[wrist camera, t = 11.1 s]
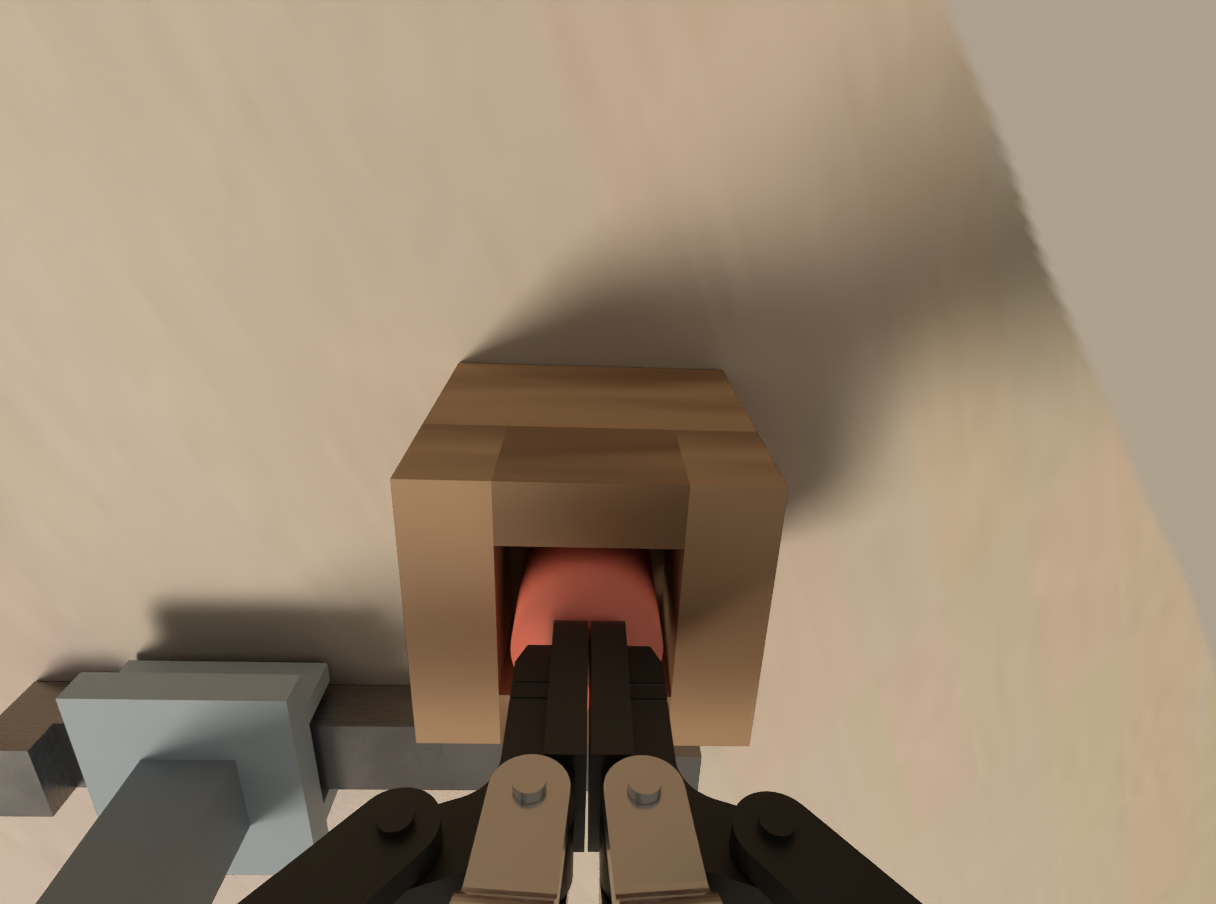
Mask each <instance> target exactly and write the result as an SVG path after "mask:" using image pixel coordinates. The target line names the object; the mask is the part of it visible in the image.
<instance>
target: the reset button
mask: <svg viewBox="0 0 1216 904" xmlns="http://www.w3.org/2000/svg"><path fill="white" fill-rule="evenodd" d="M554 620H582V621H588V696H587V709H589V669H590V635H591V620H592V621H625V624H626V637H627V646H650V647H651V648H652V649H653V651H654V652H655V654H656V655H657V656H658V658H659V659H660V661H662V655H663V640H662V633H661V625H660V618H659V611H658V604H657V597H656V590H655V583H654V576H653V569H652V562H651V557H650V554H649V551H648V549H632V548H579V547H529V548H528V550H527V552H526V555H525V559H524V563H523V570H522V576H521V582H520V588H519V595H518V601H517V607H516V613H515V620H514V626H513V632H512V638H511V658H512V662H513V665H515V661H516V660H517V658H518V657H519V656H520V654H521V653H522V652H523V650H524V649H525V648H526V646H527V645H552V637H553V624H554Z"/></svg>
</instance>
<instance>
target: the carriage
mask: <svg viewBox="0 0 1216 904" xmlns="http://www.w3.org/2000/svg"><path fill="white" fill-rule="evenodd" d="M329 682H330V676H329V670H328V664H327V663H291V662H215V661H138V660H129V661H128V662H127V663H126V664H125V666H124V667H123V668H122V669H121V670H120V671H119V672H80V673H79V675H78V676H77V677H76V678H75V679H74V680H73V681H72V682H71V683H70V684H69V685H68V686H67V687H66V688H65V689H64V690H63V691H62V692H61V693H60V694H59V695H58V696H57V698H56V702H57V705H58V707H59V710H60V713H61V716H62V719H63V721H64V724H65V727H66V730H67V733H68V735H69V738H70V741H71V744H72V746H73V749H74V752H75V755H76V758H77V760H78V763H79V766H80V769H81V772H82V774H83V777H84V780H85V783H86V786H87V788H88V791H89V794H90V797H91V799H92V802H93V805H94V808H95V811H96V813H97V816H98V819H97V820H96V821H95V823H94V824H93V826H92V827H91V828H90V830H89V831H88V832H87V834H86V835H85V837H84V838H83V839H82V841H81V842H80V843H79V845H78V846H77V848H76V849H75V850H74V852H73V853H72V854H71V856H70V857H69V859H68V860H67V861H66V863H65V864H64V865H63V867H62V868H61V870H60V871H59V872H58V874H57V875H56V876H55V878H54V879H53V881H52V882H51V883H50V885H49V886H48V888H47V889H46V890H45V892H44V893H43V894H42V896H41V897H40V899H39V900H38V901H37V903H36V904H212V902H213V900H214V898H215V896H216V894H217V892H218V890H219V888H220V886H221V884H222V882H223V880H224V878H225V876H226V875H275V874H276V873H277V872H279V871H280V870H281V869H282V868H284V867H285V866H286V865H287V864H289V863H290V862H291V861H293V860H294V859H295V858H296V857H298V856H299V855H300V854H301V853H303V852H304V851H305V850H307V849H308V848H309V847H310V846H312V845H313V844H314V843H315V842H317V841H318V840H319V839H321V838H322V837H323V836H324V835H326V834H327V833H328V827H327V821H326V819H327V817H328V814H329V812H330V809H331V806H332V804H333V801H334V799H335V796H336V794H337V791H338V789H321V787H320V782H319V776H318V770H317V765H316V759H315V753H314V748H313V742H312V736H311V731H310V725H309V723H310V721H311V719H312V717H313V715H314V713H315V711H316V709H317V707H318V705H319V702H320V700H321V698H322V696H323V694H324V692H325V690H326V688H327V686H328V684H329Z"/></svg>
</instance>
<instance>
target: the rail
mask: <svg viewBox="0 0 1216 904" xmlns="http://www.w3.org/2000/svg"><path fill="white" fill-rule="evenodd" d="M70 683H71V682H34V683H33V684H32V685H31V686H30V687H29V688H28V689H27V690H26V691H25V692H24V693H22V694H21V695H20V696H19V697H18V698H17V699H16V700H15V701H14V702H13V703H12V704H11V705H10V706H9V707H8V708H7V709H6V710H5V711H4V712H3V713H2V714H1V715H0V816H43V817H53V816H54V815H55V814H56V812H57V811H58V810H59V809H60V807H61V806H62V805H63V804H64V802H65V801H66V800H67V799H68V797H69V796H70V795H71V794H72V792H73V791H74V790H75V789H76V787H87V786H86V783H85V780H84V777H83V774H82V772H81V769H80V766H79V763H78V760H77V758H76V755H75V752H74V749H73V746H72V744H71V741H70V738H69V735H68V733H67V730H66V727H65V724H64V721H63V719H62V716H61V713H60V710H59V707H58V705H57V702H56V698H57V696H58V695H59V694H60V693H61V692H62V691H63V690H64V689H65V688H66V687H67V686H68V685H69V684H70ZM309 725H310V731H311V736H312V742H313V748H314V753H315V759H316V765H317V770H318V776H319V782H320V787H321V789H381V790H391V789H395V788H402V787H410V788H417V789H420V790H478V789H480V788H481V787H483V786H484V785H485V784H486V783H487V782H488V781H489V780H490V778H491V776H492V775H493V773H494V772H495V771H496V769H497V768H498V766H499V764H500V760H501V754H502V747H503V744H463V743H416V736H415V726H414V716H413V705H412V695H411V686H364V685H328V686H327V688H326V690H325V692H324V694H323V696H322V698H321V700H320V702H319V705H318V707H317V709H316V711H315V713H314V715H313V717H312V719H311V721H310V723H309ZM674 752H675V759H676V764H677V767H678V769H679V772H680V773H681V775H682V777H683V778H684V779H685V780H686V782H687V783H688V784H689V785H690V786H692V787H693V788H694V789H695V790H697V791H698V782H699V774H700V765H701V752H700V746H674ZM586 791H588V745H587V773H586Z"/></svg>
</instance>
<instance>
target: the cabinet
mask: <svg viewBox="0 0 1216 904" xmlns="http://www.w3.org/2000/svg"><path fill="white" fill-rule="evenodd" d="M390 483H391V493H392V503H393V513H394V523H395V533H396V543H397V553H398V564H399V574H400V584H401V594H402V604H403V614H404V624H405V635H406V645H407V655H408V665H409V675H410V685H411V695H412V705H413V716H414V726H415V736H416V743H463V744H503V740H504V733H505V727H506V720H507V713H508V706H509V701H510V692H511V686H512V679H513V672H514V665H513V662H512V658H511V638H512V632H513V626H514V620H515V613H516V607H517V601H518V595H519V588H520V582H521V576H522V570H523V563H524V559H525V555H526V552H527V550H528V548H529V547H579V548H632V549H648V551H649V554H650V557H651V562H652V569H653V576H654V583H655V590H656V597H657V604H658V611H659V618H660V625H661V633H662V640H663V655H662V661H661V662H662V663H663V670H664V678H665V687H666V693H667V703H668V707H669V715H670V722H671V730H672V737H673V744H674V746H749V744H750V738H751V731H752V725H753V718H754V712H755V705H756V698H757V692H758V685H759V679H760V672H761V666H762V659H763V653H764V646H765V639H766V633H767V626H768V620H769V613H770V607H771V600H772V594H773V587H774V581H775V574H776V567H777V561H778V554H779V548H780V541H781V535H782V528H783V522H784V515H785V508H786V502H787V495H788V489H789V487H788V486H787V484H786V482H785V480H784V478H783V477H782V475H781V473H780V471H779V470H778V468H777V466H776V464H775V462H774V461H773V459H772V457H771V455H770V454H769V452H768V450H767V448H766V447H765V445H764V443H763V441H762V439H761V438H760V436H759V434H758V432H757V431H756V429H755V427H754V425H753V423H752V422H751V420H750V418H749V416H748V415H747V413H746V411H745V409H744V407H743V406H742V404H741V402H740V400H739V399H738V397H737V395H736V393H735V391H734V390H733V388H732V386H731V384H730V383H729V381H728V379H727V377H726V375H725V374H724V372H723V370H706V369H669V368H632V367H595V366H558V365H521V364H484V363H458V365H457V367H456V368H455V370H454V372H453V374H452V375H451V377H450V379H449V380H448V382H447V384H446V385H445V387H444V389H443V390H442V392H441V394H440V396H439V397H438V399H437V401H436V402H435V404H434V406H433V407H432V409H431V411H430V412H429V414H428V416H427V418H426V419H425V421H424V423H423V424H422V426H421V428H420V429H419V431H418V433H417V434H416V436H415V438H414V440H413V441H412V443H411V445H410V446H409V448H408V450H407V451H406V453H405V455H404V456H403V458H402V460H401V462H400V463H399V465H398V467H397V468H396V470H395V472H394V473H393V475H392V477H391V478H390ZM588 735H589V709H587V745H588Z"/></svg>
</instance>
